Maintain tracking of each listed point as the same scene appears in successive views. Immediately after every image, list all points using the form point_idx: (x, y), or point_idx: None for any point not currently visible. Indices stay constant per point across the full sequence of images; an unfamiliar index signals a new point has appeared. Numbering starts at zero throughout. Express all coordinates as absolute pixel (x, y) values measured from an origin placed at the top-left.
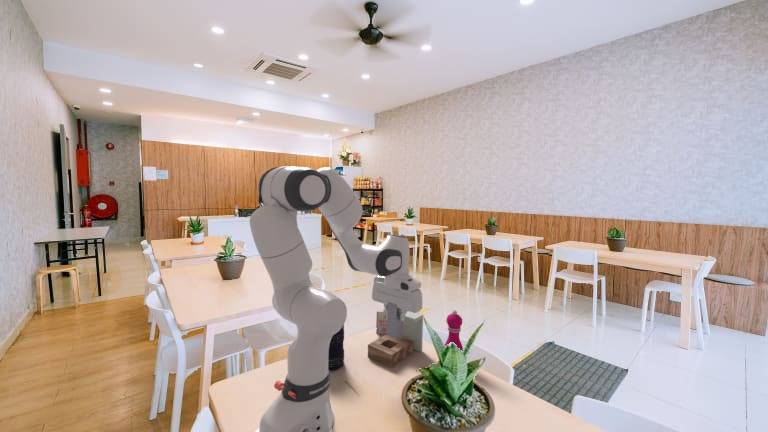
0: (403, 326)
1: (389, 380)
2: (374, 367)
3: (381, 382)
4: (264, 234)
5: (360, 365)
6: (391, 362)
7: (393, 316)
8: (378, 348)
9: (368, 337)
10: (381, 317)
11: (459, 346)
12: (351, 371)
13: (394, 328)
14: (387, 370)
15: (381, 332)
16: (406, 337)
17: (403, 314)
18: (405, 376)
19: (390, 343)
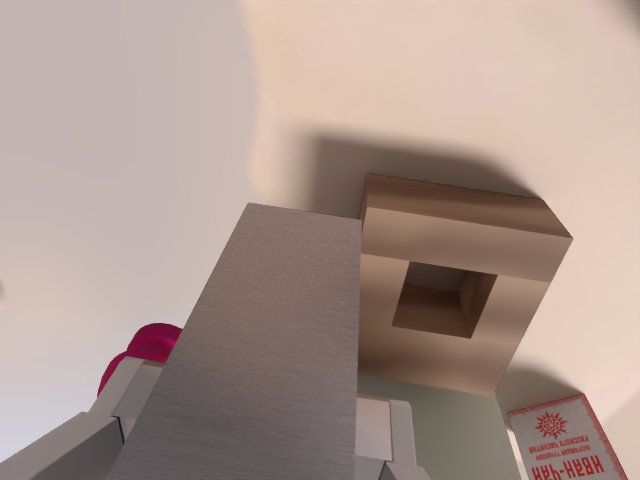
0: (420, 449)
1: (317, 60)
2: (458, 127)
3: (347, 13)
4: None
5: (551, 100)
6: (368, 185)
7: (227, 382)
8: (482, 230)
9: (615, 355)
10: None
11: (97, 397)
12: (584, 5)
13: (248, 260)
14: (375, 140)
15: (559, 408)
16: (394, 395)
17: (30, 448)
18: (265, 142)
19: (449, 322)
